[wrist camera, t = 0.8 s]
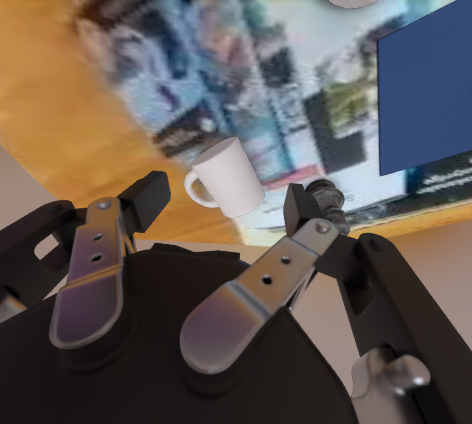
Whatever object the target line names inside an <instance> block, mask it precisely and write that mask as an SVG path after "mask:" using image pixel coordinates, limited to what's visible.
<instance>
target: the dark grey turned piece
mask: <svg viewBox="0 0 472 424" xmlns="http://www.w3.org/2000/svg"><path fill="white" fill-rule="evenodd" d="M305 192H308V193H311V194H312V195H313V196H314V197H315V198H316V200H317V202H318V204H319V208H320V209H321V211H322V213H323V215H324V218H325V220H328V221H330V222H332V223H333V224H335V225H336V226H337V228H338V230H339V233H340V234H342V235H345V236H347V235H348V234H349V232H350V227H349V225H348V223H347V222H346V220H345V213H344V211H343V210H342V209H341V208H342V206H343V204H344V200H345V199H344V195H343V194H342V192H341V191H339V190H338V189H335V185H334V184H333V183H332V182H331V181H329V180H325V179H321V180H316V181H314V182H312V183H311V184H309V185H308V186H307V188H306V190H305Z"/></svg>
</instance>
